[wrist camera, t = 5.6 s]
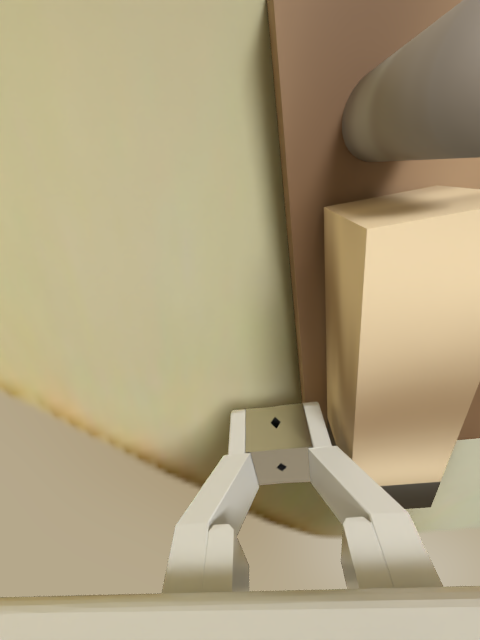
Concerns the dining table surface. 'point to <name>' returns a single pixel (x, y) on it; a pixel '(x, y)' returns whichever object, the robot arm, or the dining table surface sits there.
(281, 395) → the dining table surface
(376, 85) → the board
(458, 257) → the leg bar
